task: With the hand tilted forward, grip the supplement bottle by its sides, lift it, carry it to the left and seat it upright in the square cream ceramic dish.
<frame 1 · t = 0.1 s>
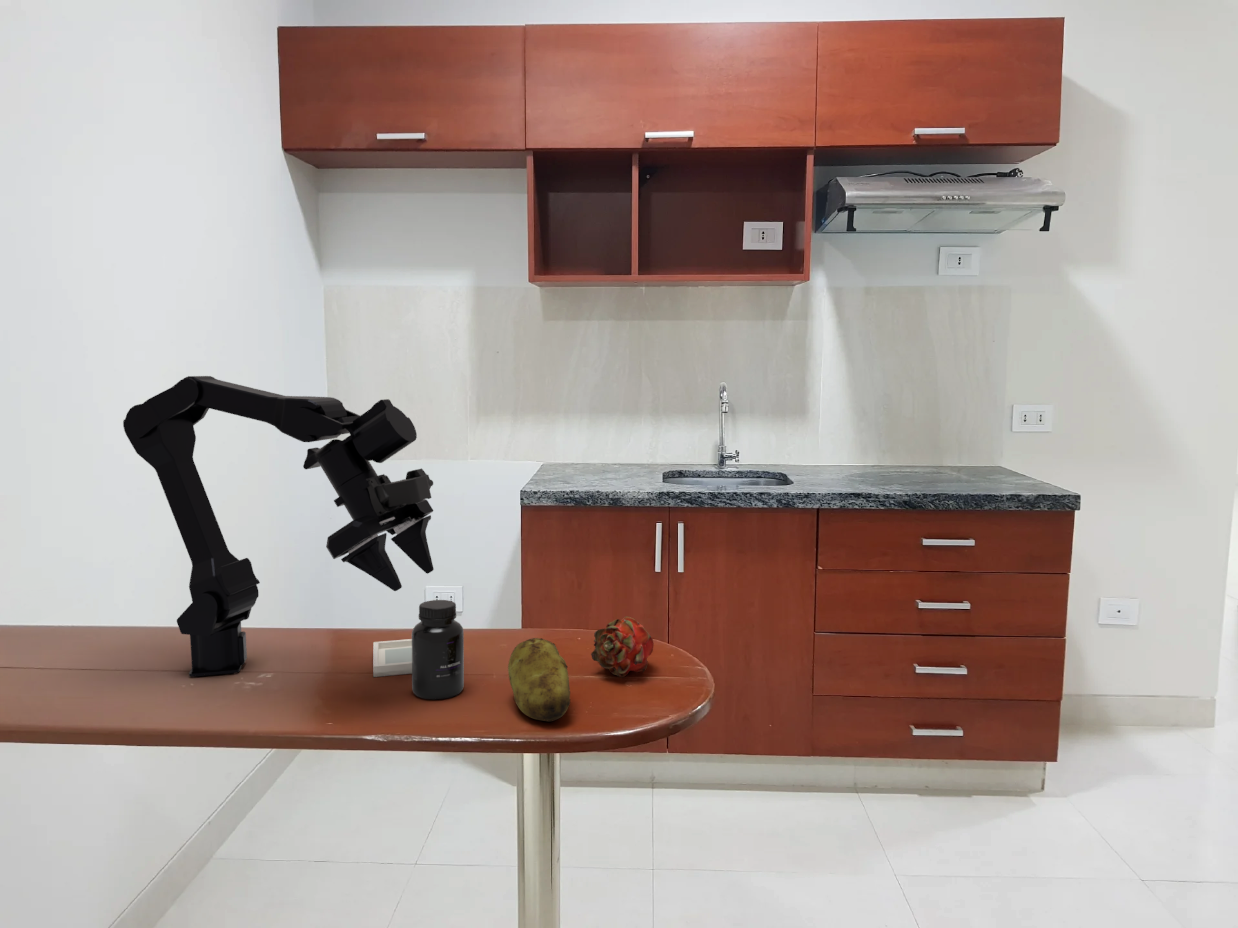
hand: (415, 580, 113), 15 cm above the table, tool tilted 30°, fingers open, 9 cm apart
supplement bottle: (438, 692, 114), on the table
potato: (539, 709, 109), on the table
dragon fruit: (622, 671, 122), on the table
cream ceramic dish: (411, 660, 125), on the table
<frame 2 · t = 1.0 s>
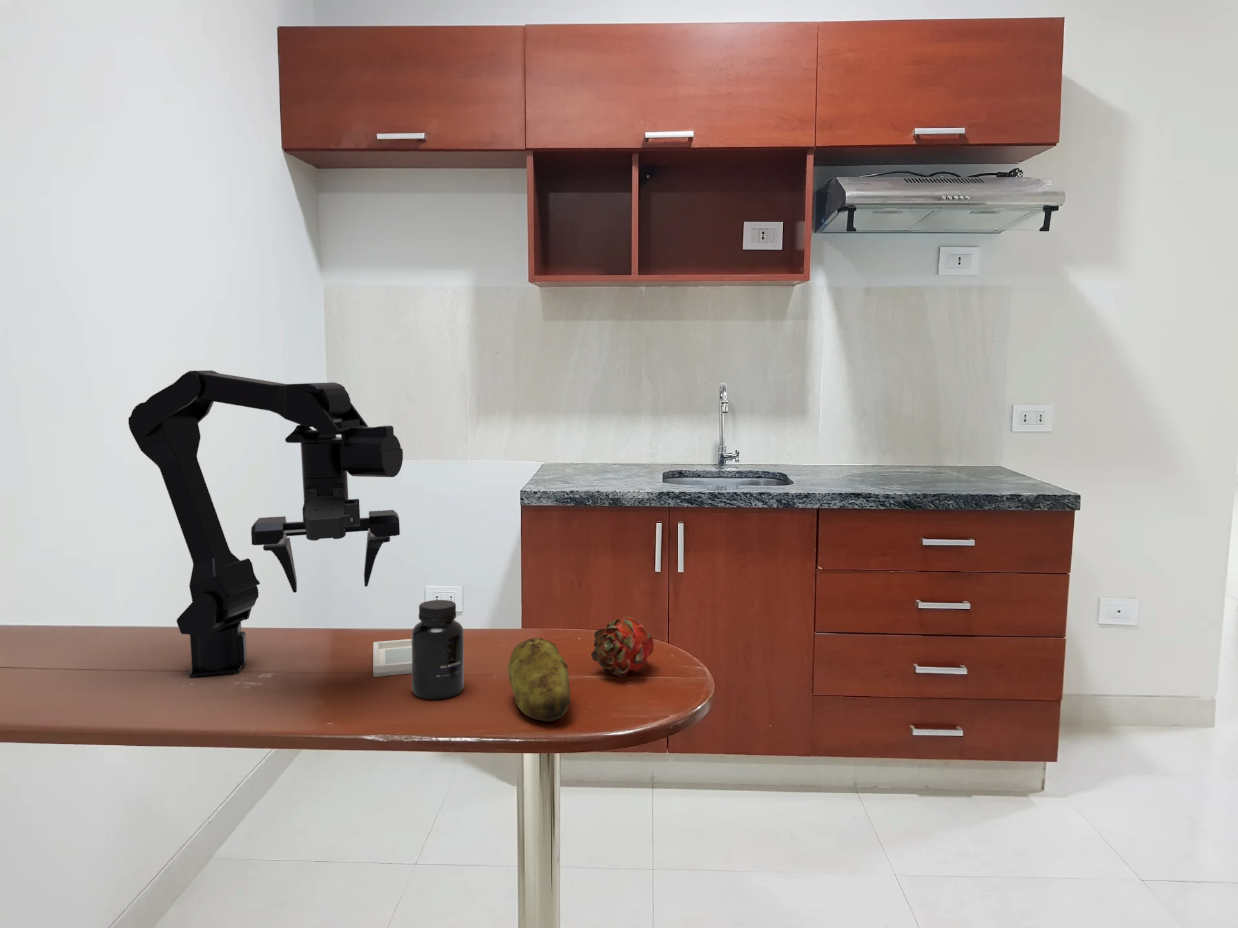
hand: (331, 588, 116), 13 cm above the table, tool pointing down, fingers open, 9 cm apart
nothing on the table moved.
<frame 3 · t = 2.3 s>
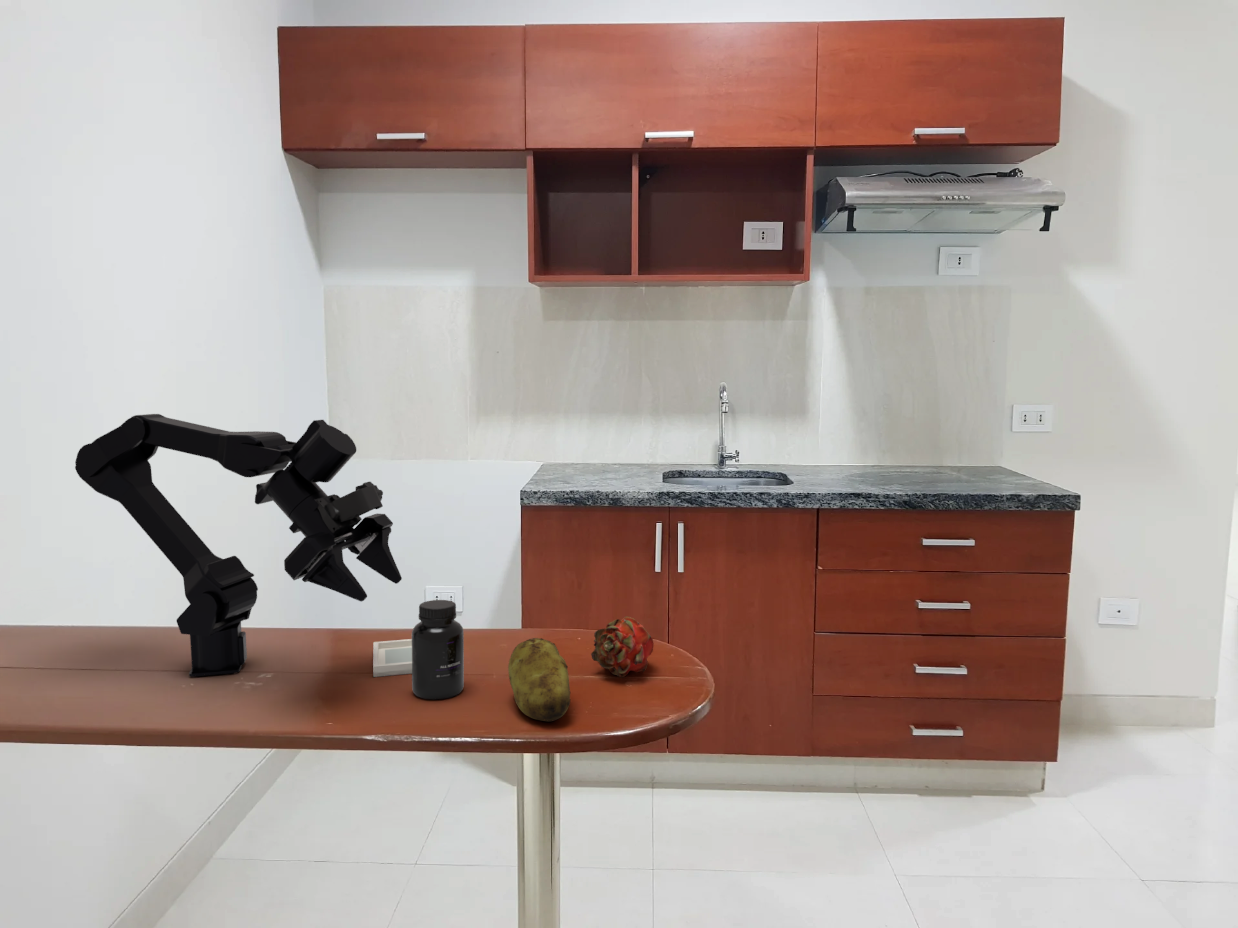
hand: (382, 589, 114), 13 cm above the table, tool tilted 45°, fingers open, 9 cm apart
nothing on the table moved.
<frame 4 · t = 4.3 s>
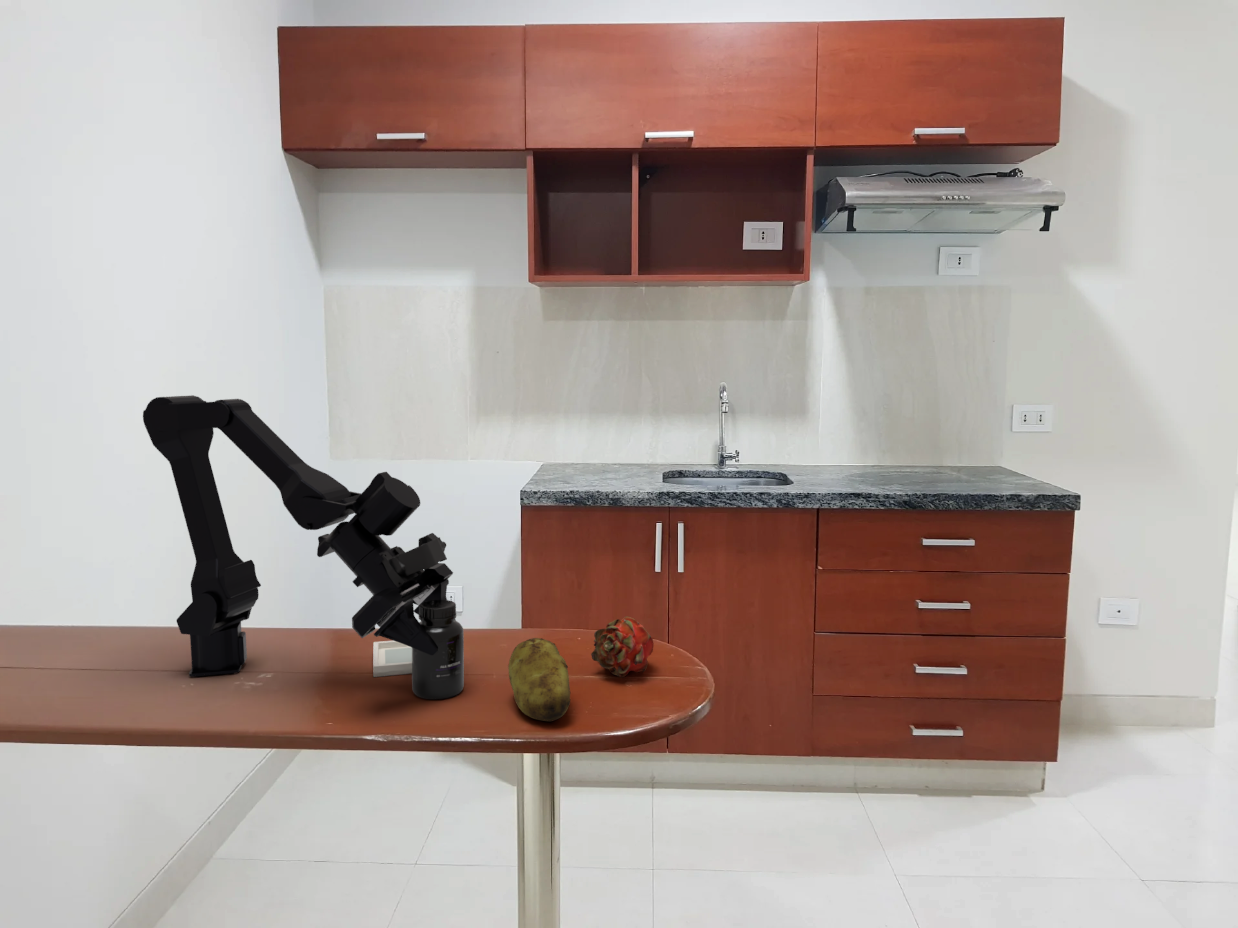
hand: (447, 643, 113), 7 cm above the table, tool tilted 45°, fingers closed on supplement bottle, 7 cm apart
supplement bottle: (438, 692, 114), on the table, touching gripper
everything else where it was.
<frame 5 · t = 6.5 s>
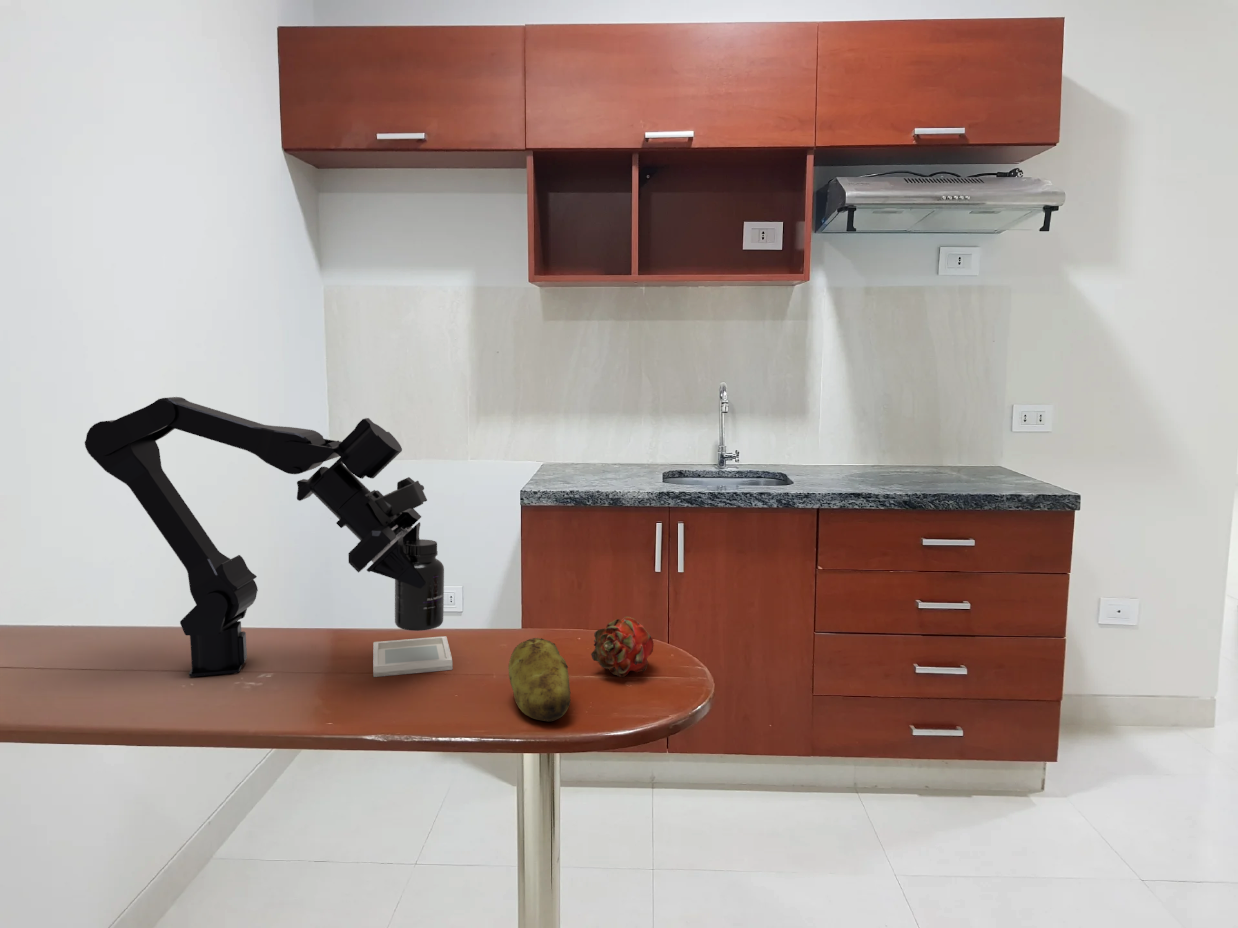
hand: (429, 579, 121), 13 cm above the table, tool tilted 45°, fingers closed on supplement bottle, 7 cm apart
supplement bottle: (419, 625, 121), point 6 cm above the table, touching gripper
everything else where it was.
when the fingers open (8 cm above the table, at t = 8.5 s): supplement bottle drops 1 cm, resting on cream ceramic dish.
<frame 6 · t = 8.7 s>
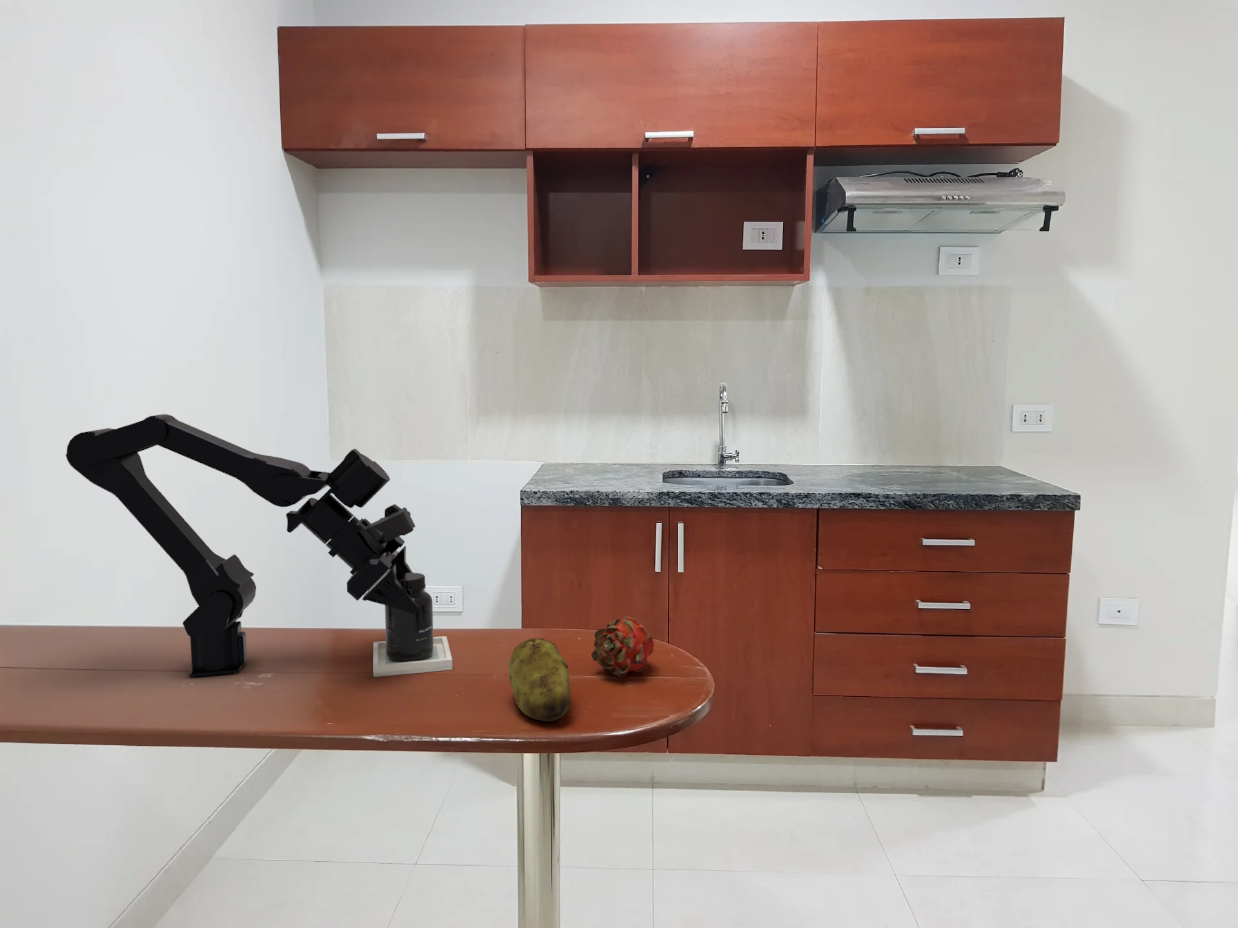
hand: (420, 602, 125), 9 cm above the table, tool tilted 45°, fingers open, 8 cm apart
supplement bottle: (410, 656, 126), point 1 cm above the table, touching cream ceramic dish
everything else where it was.
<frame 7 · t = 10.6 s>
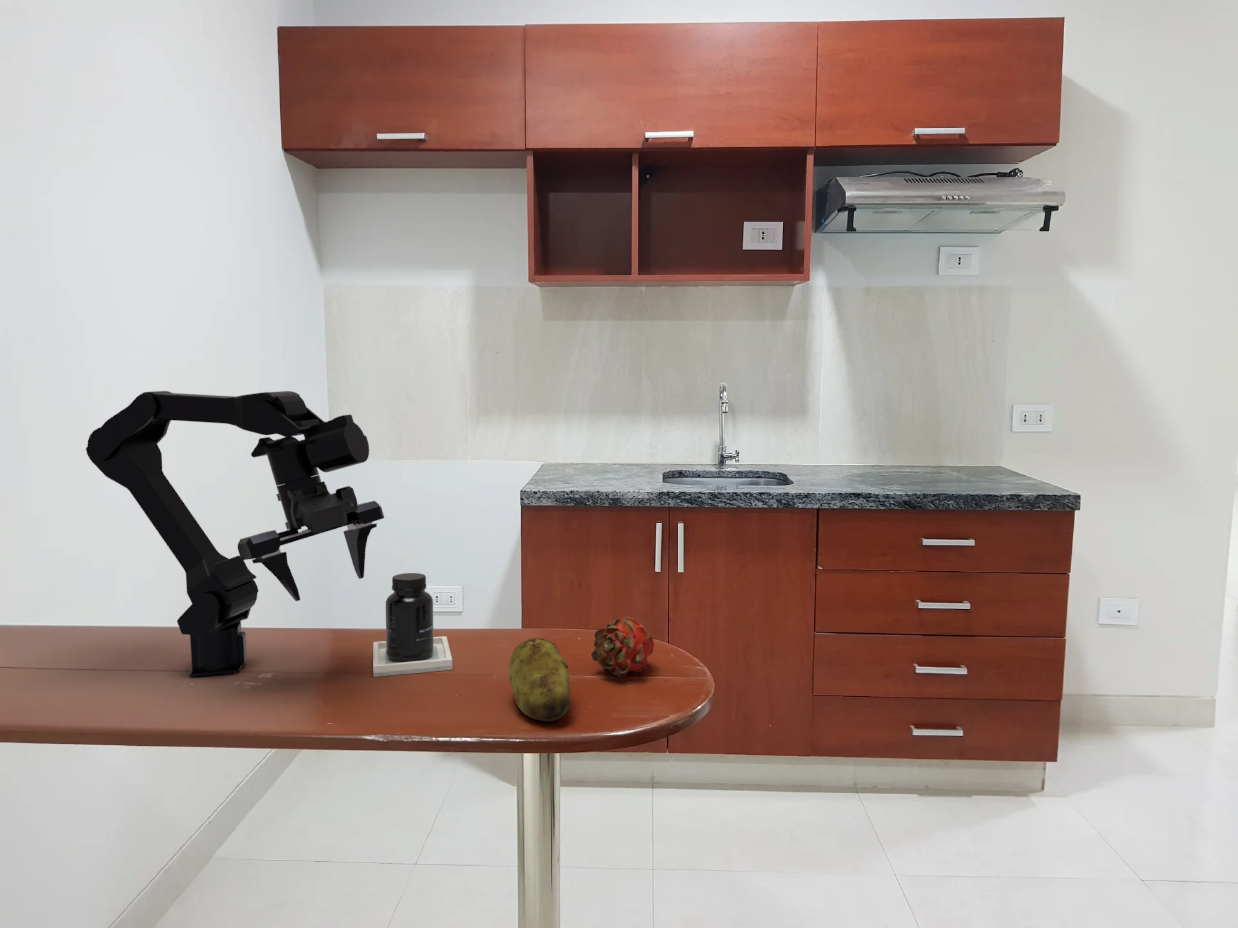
hand: (330, 589, 117), 13 cm above the table, tool tilted 15°, fingers open, 9 cm apart
nothing on the table moved.
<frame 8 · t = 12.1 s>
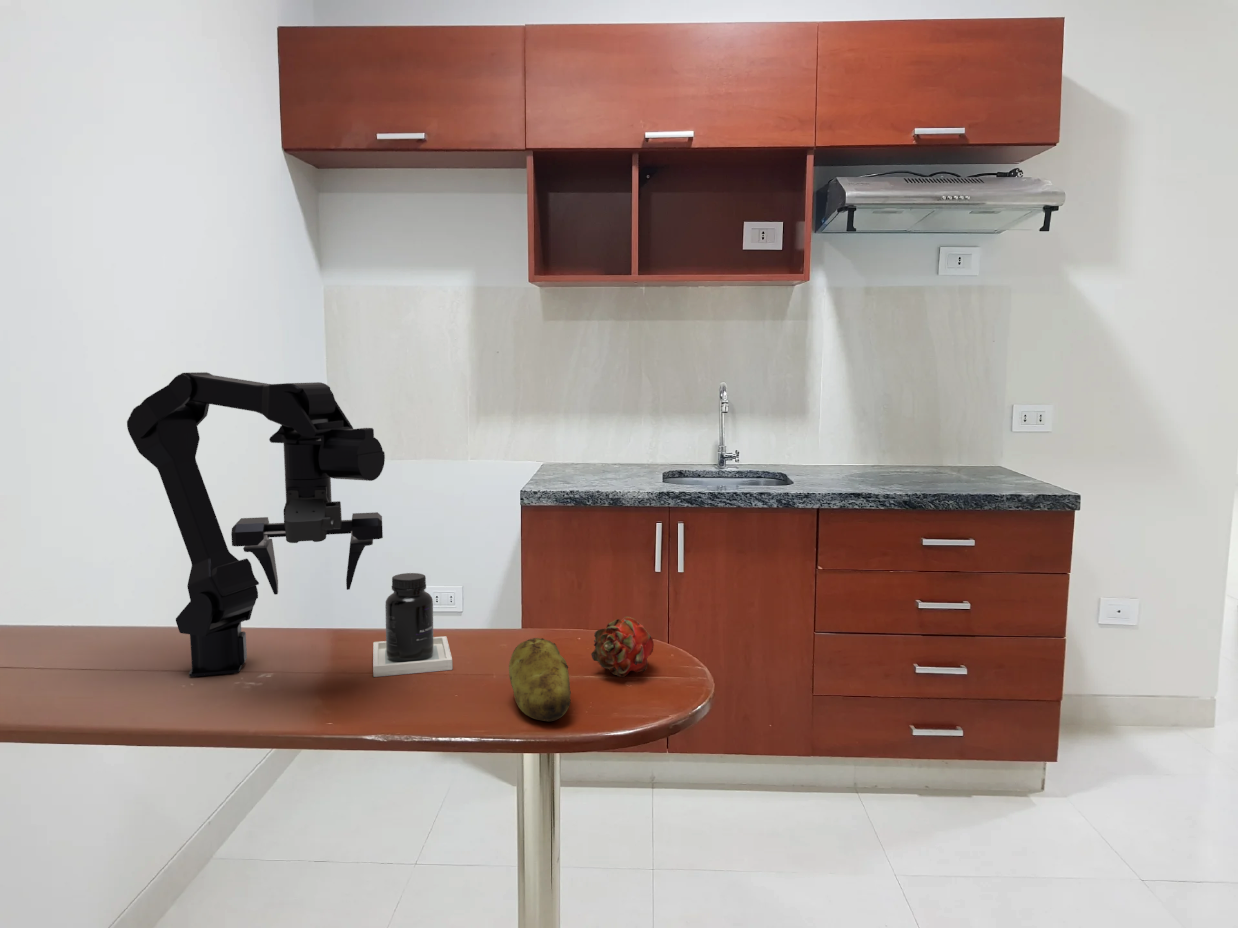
hand: (312, 591, 115), 13 cm above the table, tool pointing down, fingers open, 9 cm apart
nothing on the table moved.
at the end: supplement bottle 0.2 cm off-centre on the cream ceramic dish, point 0.5 cm above the cream ceramic dish's base; supplement bottle tilted 0°; the gripper is holding nothing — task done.
